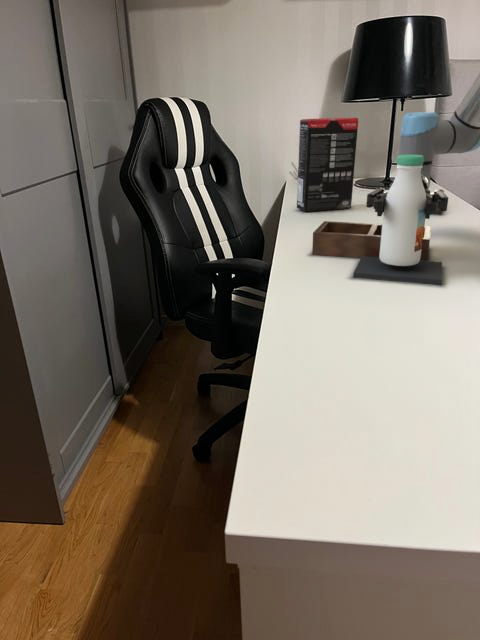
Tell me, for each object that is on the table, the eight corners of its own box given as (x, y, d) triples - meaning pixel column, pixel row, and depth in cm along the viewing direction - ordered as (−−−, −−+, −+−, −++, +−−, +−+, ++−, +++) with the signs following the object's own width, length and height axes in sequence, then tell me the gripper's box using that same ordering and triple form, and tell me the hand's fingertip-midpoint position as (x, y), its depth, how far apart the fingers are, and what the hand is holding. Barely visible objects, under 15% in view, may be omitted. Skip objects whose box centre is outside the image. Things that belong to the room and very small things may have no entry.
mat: (441, 266, 102) (441, 261, 102) (441, 285, 92) (442, 279, 91) (361, 260, 107) (362, 256, 107) (353, 277, 97) (353, 272, 97)
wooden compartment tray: (428, 248, 115) (430, 226, 113) (426, 263, 105) (430, 239, 103) (323, 241, 123) (324, 221, 121) (312, 254, 112) (312, 232, 111)
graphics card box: (343, 205, 166) (347, 117, 156) (353, 208, 160) (359, 117, 150) (295, 209, 161) (297, 118, 151) (305, 213, 155) (307, 119, 145)
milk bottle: (403, 269, 94) (415, 158, 86) (370, 260, 100) (379, 155, 92) (428, 261, 98) (442, 154, 90) (395, 253, 104) (406, 152, 96)
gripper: (458, 209, 108) (461, 234, 88) (361, 205, 115) (345, 227, 95) (463, 173, 105) (468, 190, 85) (364, 171, 112) (347, 186, 92)
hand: (403, 210), depth 90 cm, fingers closed on milk bottle, 8 cm apart
